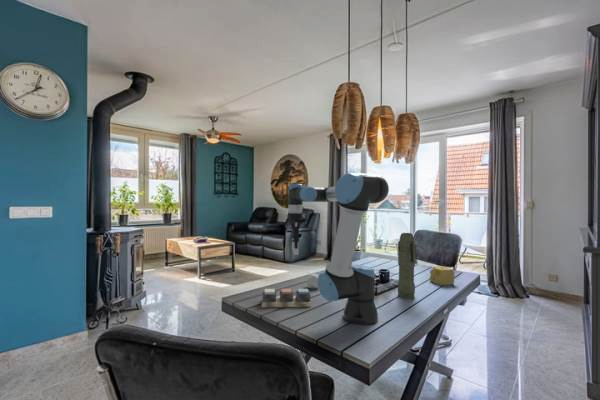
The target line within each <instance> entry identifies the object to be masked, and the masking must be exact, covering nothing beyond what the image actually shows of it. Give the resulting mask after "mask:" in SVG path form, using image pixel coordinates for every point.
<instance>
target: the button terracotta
mask: <svg viewBox="0 0 600 400" xmlns="http://www.w3.org/2000/svg"><path fill="white" fill-rule="evenodd" d="M291 290H292V288H281V291H282V294H292V291H291Z"/></svg>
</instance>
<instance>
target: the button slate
mask: <svg viewBox="0 0 600 400" xmlns="http://www.w3.org/2000/svg"><path fill="white" fill-rule="evenodd" d="M297 290H298V294H309V292H310V291H309V292H308V290H309V288H297Z"/></svg>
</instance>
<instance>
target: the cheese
mask: <svg viewBox="0 0 600 400" xmlns="http://www.w3.org/2000/svg"><path fill="white" fill-rule="evenodd" d="M429 273H430V276H429V282H430V281H431V282H430V283H433V282H434V284H435V285H438V284H439V286H449V285H451V284H452V285H454V283H455V269H453V268H451V267H450V268H449V267H446V266H443V265H437V266H434V267H432V269H430V271H429Z"/></svg>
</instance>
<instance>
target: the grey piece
mask: <svg viewBox="0 0 600 400" xmlns="http://www.w3.org/2000/svg"><path fill="white" fill-rule="evenodd" d="M264 291H265V290H263V291H262V292H263V293H262V300H261V307H262V308H312V302H311V292H310V290H309V289H308V292H309V294H298V289H297V290H296V291H295V293H296V295H294V290H292V289H291V291H292V294H282V290H279V295H277V290H275V294H264Z"/></svg>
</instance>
